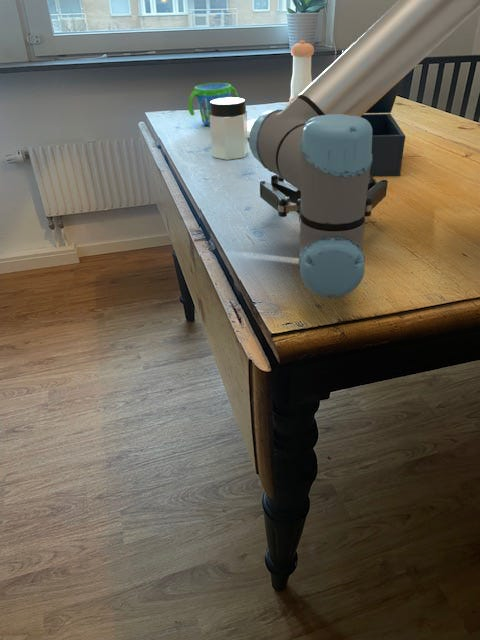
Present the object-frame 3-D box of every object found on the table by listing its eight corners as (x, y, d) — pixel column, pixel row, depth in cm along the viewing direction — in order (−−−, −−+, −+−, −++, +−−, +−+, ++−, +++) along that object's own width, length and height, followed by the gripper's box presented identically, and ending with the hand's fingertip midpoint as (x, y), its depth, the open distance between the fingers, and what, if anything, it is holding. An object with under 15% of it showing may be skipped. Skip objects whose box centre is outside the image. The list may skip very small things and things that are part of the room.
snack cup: (197, 131, 140) (193, 91, 135) (184, 123, 148) (180, 86, 143) (247, 123, 146) (245, 85, 140) (231, 116, 154) (230, 80, 148)
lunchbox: (400, 175, 102) (405, 135, 98) (336, 176, 103) (339, 136, 99) (386, 148, 118) (390, 113, 114) (331, 149, 120) (333, 114, 115)
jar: (242, 148, 124) (240, 95, 117) (253, 156, 118) (252, 101, 111) (207, 152, 122) (203, 99, 115) (217, 161, 115) (213, 106, 109)
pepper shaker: (310, 106, 161) (312, 38, 151) (314, 111, 155) (317, 40, 144) (287, 107, 161) (288, 39, 150) (291, 112, 155) (292, 42, 144)
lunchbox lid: (412, 50, 93) (411, 24, 94) (342, 52, 95) (342, 27, 96) (390, 113, 114) (390, 91, 115) (333, 114, 115) (333, 92, 116)
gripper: (238, 246, 73) (250, 194, 91) (414, 246, 71) (391, 193, 88) (236, 196, 69) (248, 152, 86) (423, 195, 66) (397, 150, 84)
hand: (320, 173), depth 87 cm, fingers open, 13 cm apart
